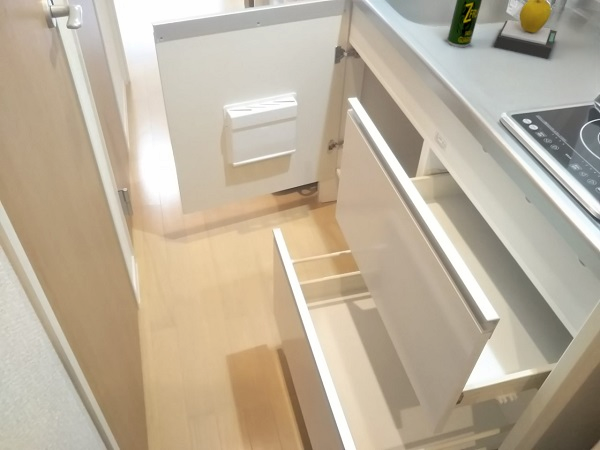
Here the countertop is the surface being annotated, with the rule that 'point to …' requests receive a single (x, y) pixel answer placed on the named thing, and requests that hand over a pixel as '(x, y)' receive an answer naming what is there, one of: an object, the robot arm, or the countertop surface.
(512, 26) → the scale
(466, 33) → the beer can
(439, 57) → the countertop surface
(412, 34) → the countertop surface
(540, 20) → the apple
